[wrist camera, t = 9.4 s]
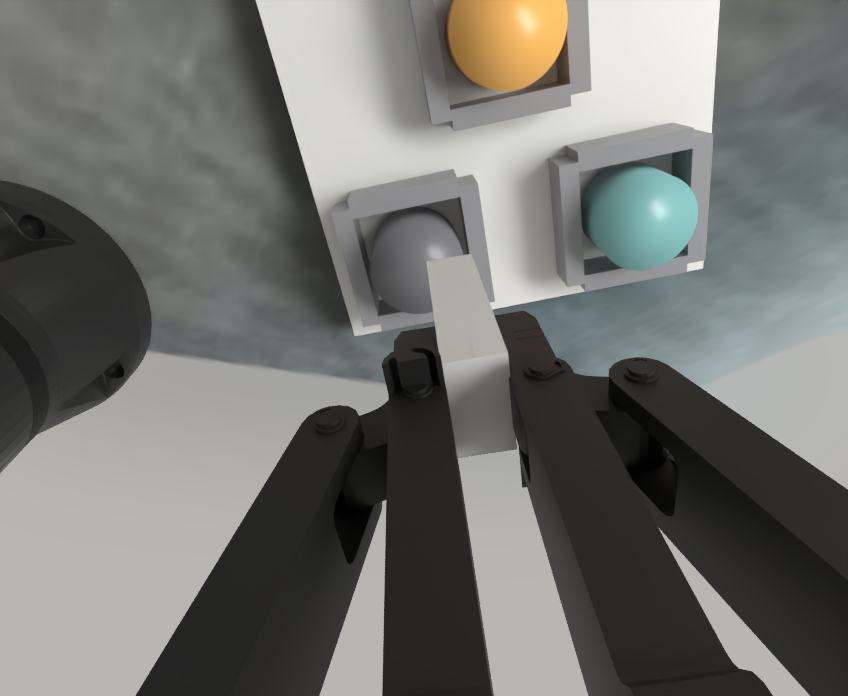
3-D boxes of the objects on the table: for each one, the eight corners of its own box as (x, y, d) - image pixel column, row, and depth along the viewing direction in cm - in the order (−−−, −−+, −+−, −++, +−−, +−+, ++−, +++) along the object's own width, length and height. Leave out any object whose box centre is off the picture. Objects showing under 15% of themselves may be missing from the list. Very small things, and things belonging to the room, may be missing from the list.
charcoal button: (384, 296, 32) (382, 321, 29) (363, 216, 30) (359, 234, 27) (465, 280, 32) (472, 304, 29) (451, 197, 30) (457, 214, 27)
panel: (357, 322, 36) (352, 353, 32) (253, -35, 26) (229, -50, 22) (687, 257, 35) (722, 282, 31) (706, -144, 25) (761, -179, 21)
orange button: (454, 96, 27) (460, 102, 24) (436, -20, 25) (440, -31, 22) (551, 75, 27) (571, 77, 24) (543, -46, 24) (563, -60, 21)
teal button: (581, 257, 32) (601, 279, 29) (577, 171, 29) (597, 185, 26) (666, 240, 31) (695, 260, 28) (668, 152, 29) (700, 164, 26)
